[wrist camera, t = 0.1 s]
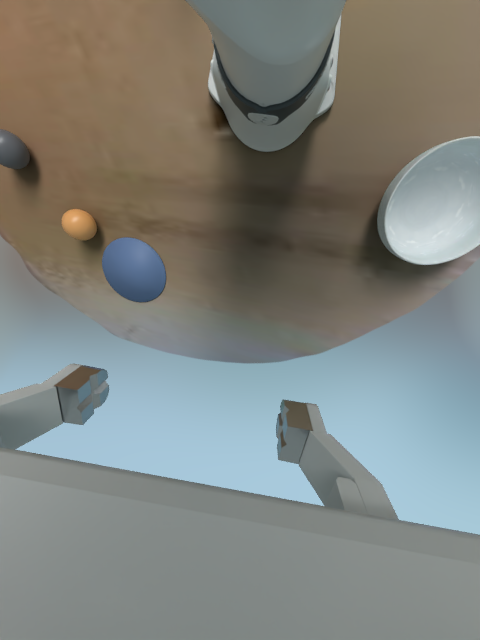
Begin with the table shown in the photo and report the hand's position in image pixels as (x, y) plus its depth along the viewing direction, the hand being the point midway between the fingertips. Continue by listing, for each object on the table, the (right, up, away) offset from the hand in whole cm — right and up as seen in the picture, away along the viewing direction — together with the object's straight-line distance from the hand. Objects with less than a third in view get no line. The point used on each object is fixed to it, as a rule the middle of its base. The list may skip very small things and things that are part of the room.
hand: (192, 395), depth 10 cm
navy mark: (-21, +14, +39) cm, 46 cm away
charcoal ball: (-37, +32, +28) cm, 57 cm away
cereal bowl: (+33, +23, +29) cm, 49 cm away
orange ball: (-28, +21, +33) cm, 48 cm away
